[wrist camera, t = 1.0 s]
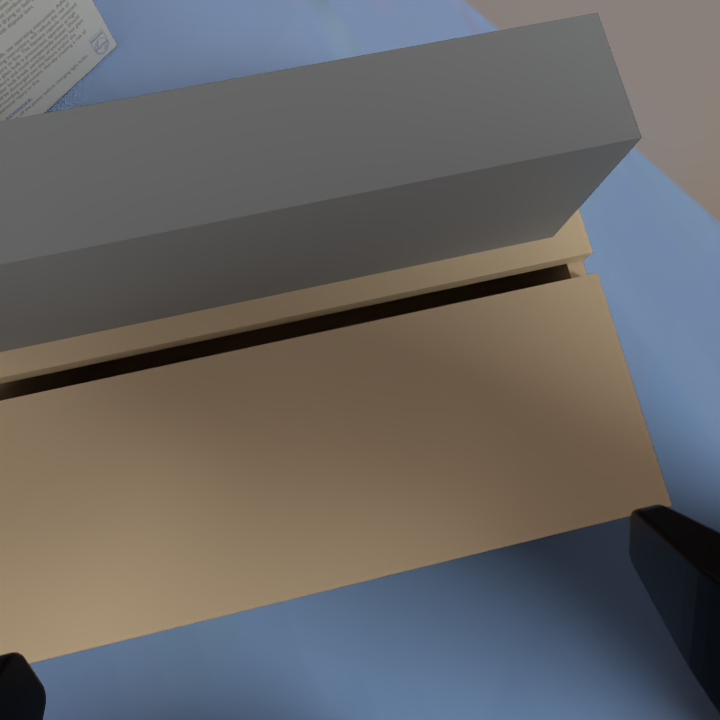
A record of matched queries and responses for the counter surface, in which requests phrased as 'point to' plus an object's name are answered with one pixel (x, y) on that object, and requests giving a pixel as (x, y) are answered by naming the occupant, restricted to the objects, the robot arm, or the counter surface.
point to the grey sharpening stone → (301, 192)
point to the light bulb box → (47, 51)
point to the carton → (312, 458)
